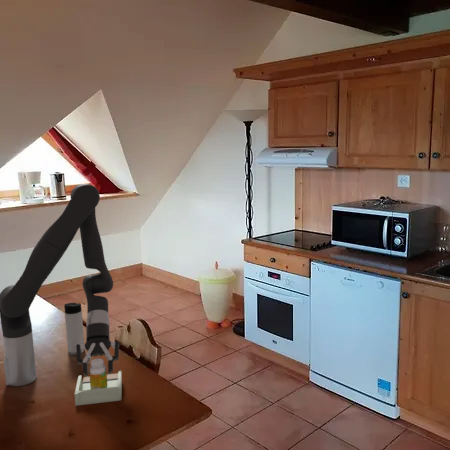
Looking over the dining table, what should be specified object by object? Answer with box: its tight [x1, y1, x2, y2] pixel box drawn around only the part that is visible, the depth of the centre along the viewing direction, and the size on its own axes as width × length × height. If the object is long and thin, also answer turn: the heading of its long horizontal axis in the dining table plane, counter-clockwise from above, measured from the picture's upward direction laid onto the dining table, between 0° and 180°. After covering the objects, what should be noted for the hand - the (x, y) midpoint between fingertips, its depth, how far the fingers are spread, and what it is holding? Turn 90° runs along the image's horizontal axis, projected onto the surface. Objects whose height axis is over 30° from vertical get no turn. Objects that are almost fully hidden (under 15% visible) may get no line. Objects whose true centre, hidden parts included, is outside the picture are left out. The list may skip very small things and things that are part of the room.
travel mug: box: [64, 302, 86, 356], centre depth 187 cm, size 6×7×20 cm
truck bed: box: [74, 370, 123, 406], centre depth 159 cm, size 14×17×4 cm
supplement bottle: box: [88, 358, 108, 390], centre depth 157 cm, size 5×5×10 cm
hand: (98, 374), depth 155 cm, fingers open, 6 cm apart
